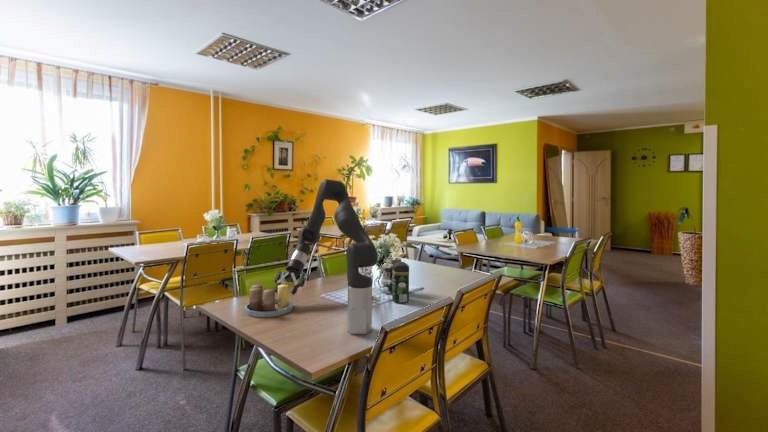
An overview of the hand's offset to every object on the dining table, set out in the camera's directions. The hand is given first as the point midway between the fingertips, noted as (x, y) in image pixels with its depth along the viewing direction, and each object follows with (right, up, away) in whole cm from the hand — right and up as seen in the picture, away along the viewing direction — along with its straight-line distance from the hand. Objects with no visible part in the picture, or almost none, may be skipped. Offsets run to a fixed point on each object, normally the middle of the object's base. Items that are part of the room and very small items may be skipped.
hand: (284, 292), depth 165 cm
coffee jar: (+53, -7, +12) cm, 54 cm away
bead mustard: (0, -7, -1) cm, 7 cm away
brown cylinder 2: (-4, -7, -8) cm, 12 cm away
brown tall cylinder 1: (-12, -6, -1) cm, 13 cm away
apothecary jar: (+49, -5, +27) cm, 56 cm away
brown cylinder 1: (-11, -7, -7) cm, 14 cm away
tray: (-6, -7, -3) cm, 9 cm away
